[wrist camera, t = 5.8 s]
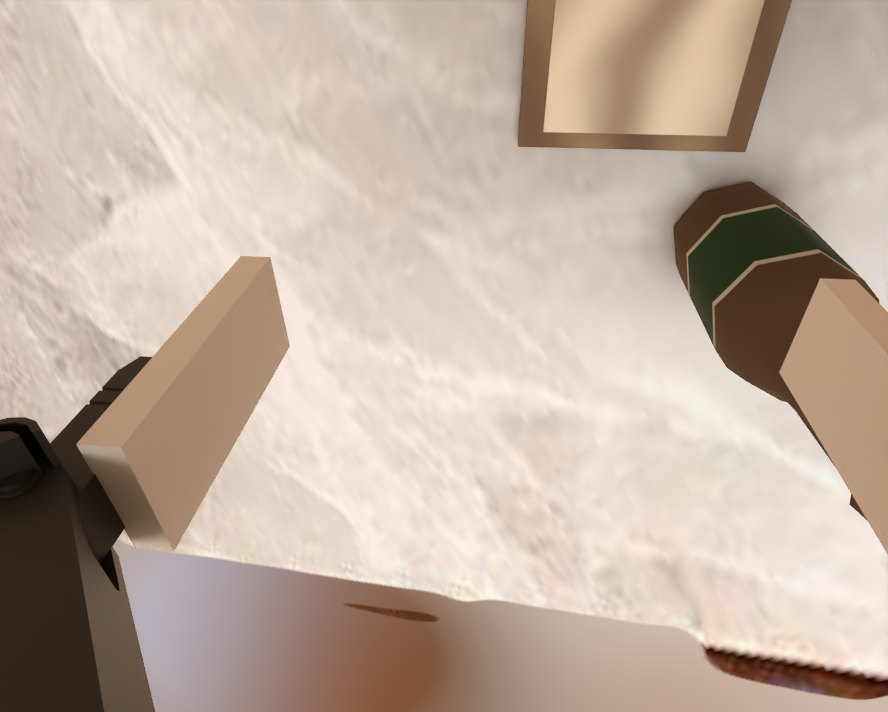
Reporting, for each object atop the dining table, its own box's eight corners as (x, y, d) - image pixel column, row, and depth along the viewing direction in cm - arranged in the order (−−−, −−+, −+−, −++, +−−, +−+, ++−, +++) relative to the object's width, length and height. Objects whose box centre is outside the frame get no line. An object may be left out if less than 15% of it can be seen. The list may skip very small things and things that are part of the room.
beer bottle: (648, 221, 40) (768, 486, 20) (761, 153, 36) (1031, 396, 17) (697, 299, 43) (840, 591, 24) (805, 243, 39) (1075, 533, 20)
